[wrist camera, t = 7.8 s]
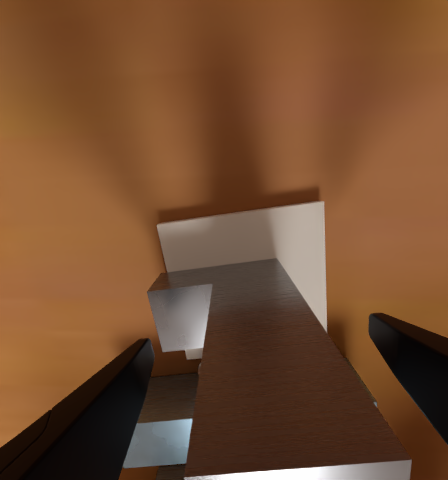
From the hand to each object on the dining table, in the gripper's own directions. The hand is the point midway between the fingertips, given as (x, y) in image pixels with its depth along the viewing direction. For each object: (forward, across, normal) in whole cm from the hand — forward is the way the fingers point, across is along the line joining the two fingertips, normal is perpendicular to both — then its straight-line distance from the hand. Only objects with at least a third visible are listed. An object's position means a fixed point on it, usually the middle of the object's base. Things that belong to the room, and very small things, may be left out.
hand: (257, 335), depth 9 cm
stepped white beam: (+4, 0, 0) cm, 4 cm away
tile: (+4, 0, 0) cm, 4 cm away
